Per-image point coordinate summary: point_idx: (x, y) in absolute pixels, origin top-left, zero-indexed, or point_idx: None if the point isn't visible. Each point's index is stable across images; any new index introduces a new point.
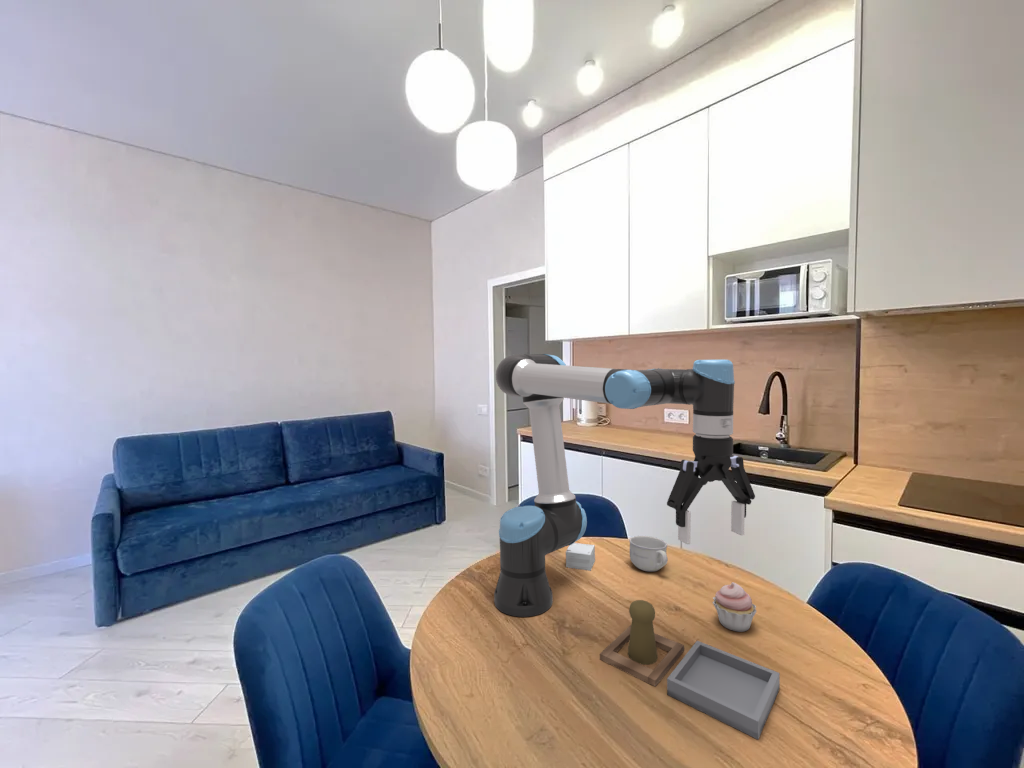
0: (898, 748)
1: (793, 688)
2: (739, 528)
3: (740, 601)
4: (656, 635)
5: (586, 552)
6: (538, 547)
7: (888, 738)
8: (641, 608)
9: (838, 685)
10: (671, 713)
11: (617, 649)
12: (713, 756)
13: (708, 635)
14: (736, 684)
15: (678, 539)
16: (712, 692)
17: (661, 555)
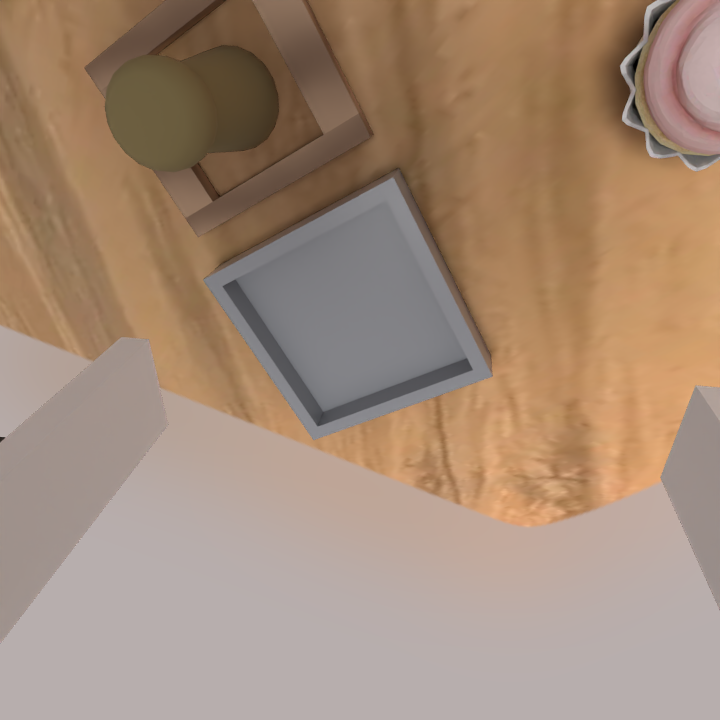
0: (539, 518)
1: (524, 366)
2: (687, 501)
3: (699, 140)
4: (313, 45)
5: None
6: None
7: (550, 504)
8: (131, 148)
9: (638, 402)
10: (201, 310)
11: (158, 49)
12: (222, 407)
13: (523, 89)
14: (387, 323)
15: (122, 340)
16: (311, 319)
17: None
